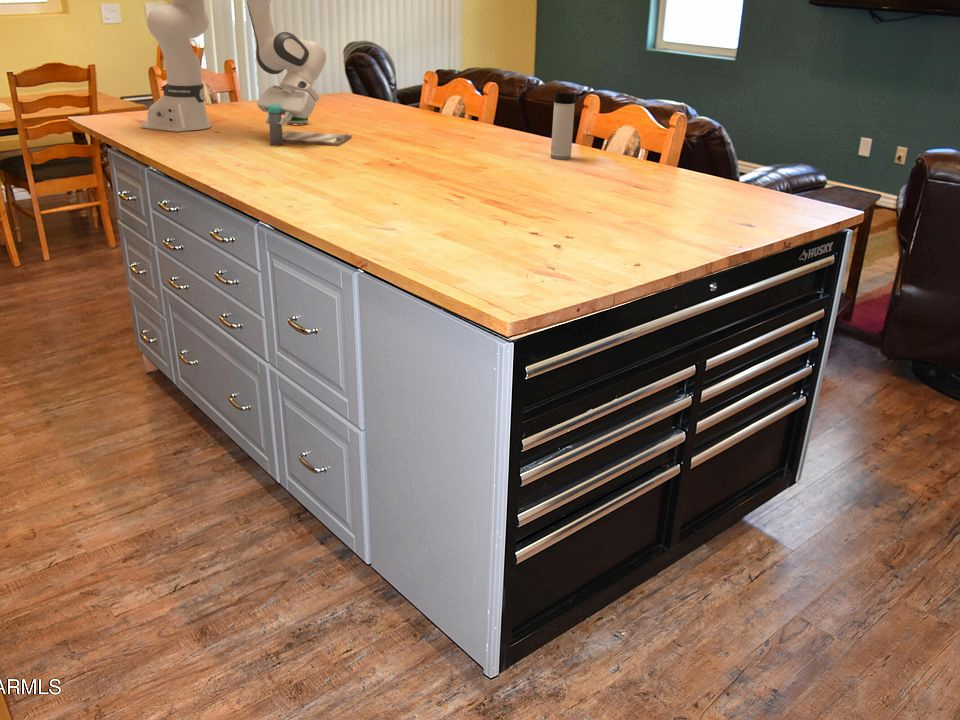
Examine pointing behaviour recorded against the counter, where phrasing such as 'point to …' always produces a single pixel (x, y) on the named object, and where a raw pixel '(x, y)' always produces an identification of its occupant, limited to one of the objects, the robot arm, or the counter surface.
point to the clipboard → (315, 138)
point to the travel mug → (562, 126)
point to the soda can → (298, 120)
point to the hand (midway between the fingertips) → (274, 124)
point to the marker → (275, 124)
